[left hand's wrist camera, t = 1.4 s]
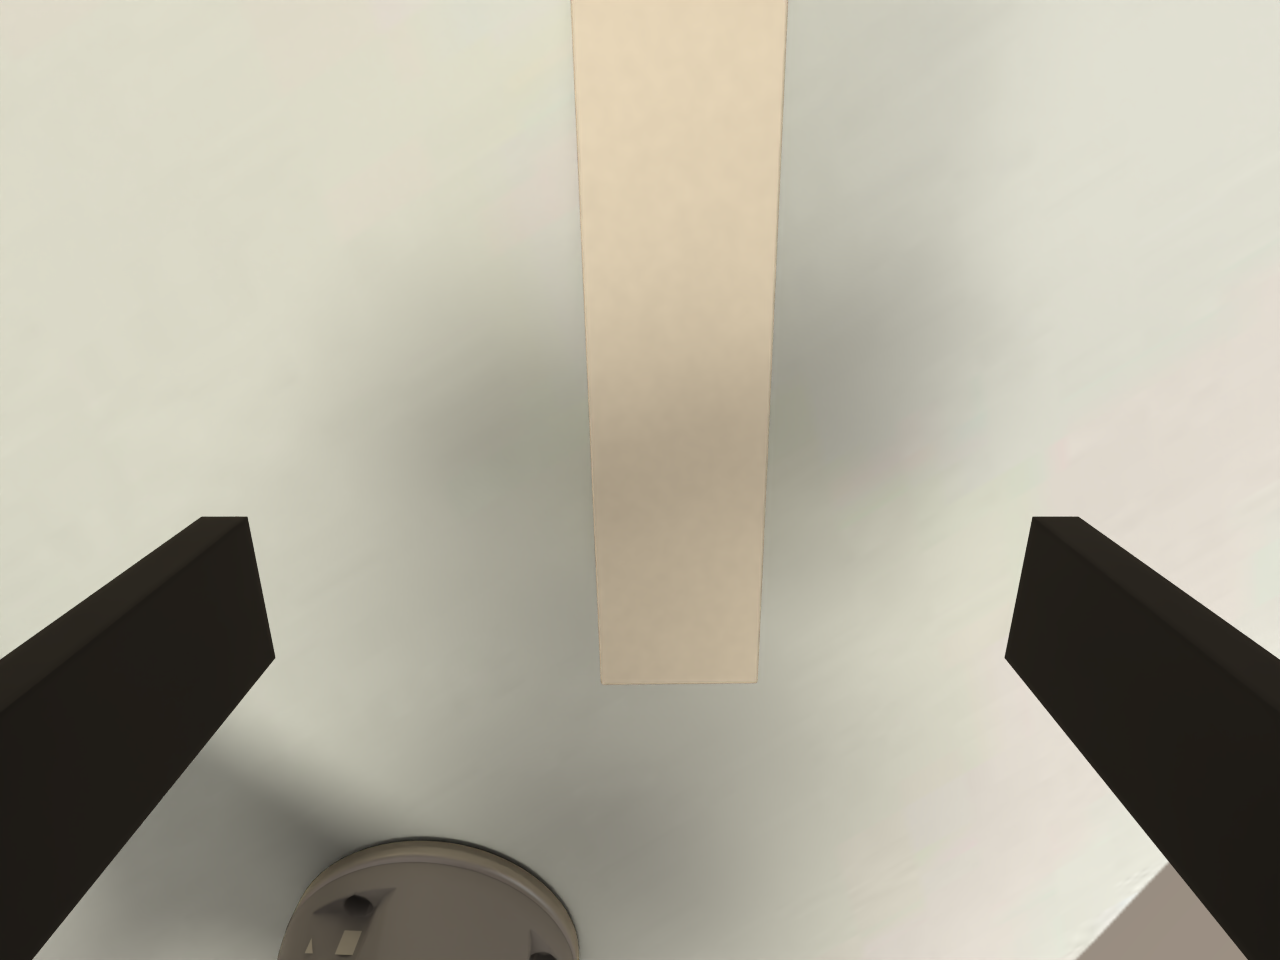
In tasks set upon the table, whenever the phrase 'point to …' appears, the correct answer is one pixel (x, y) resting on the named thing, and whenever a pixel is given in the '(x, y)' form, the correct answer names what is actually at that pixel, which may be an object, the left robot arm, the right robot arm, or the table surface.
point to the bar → (679, 323)
